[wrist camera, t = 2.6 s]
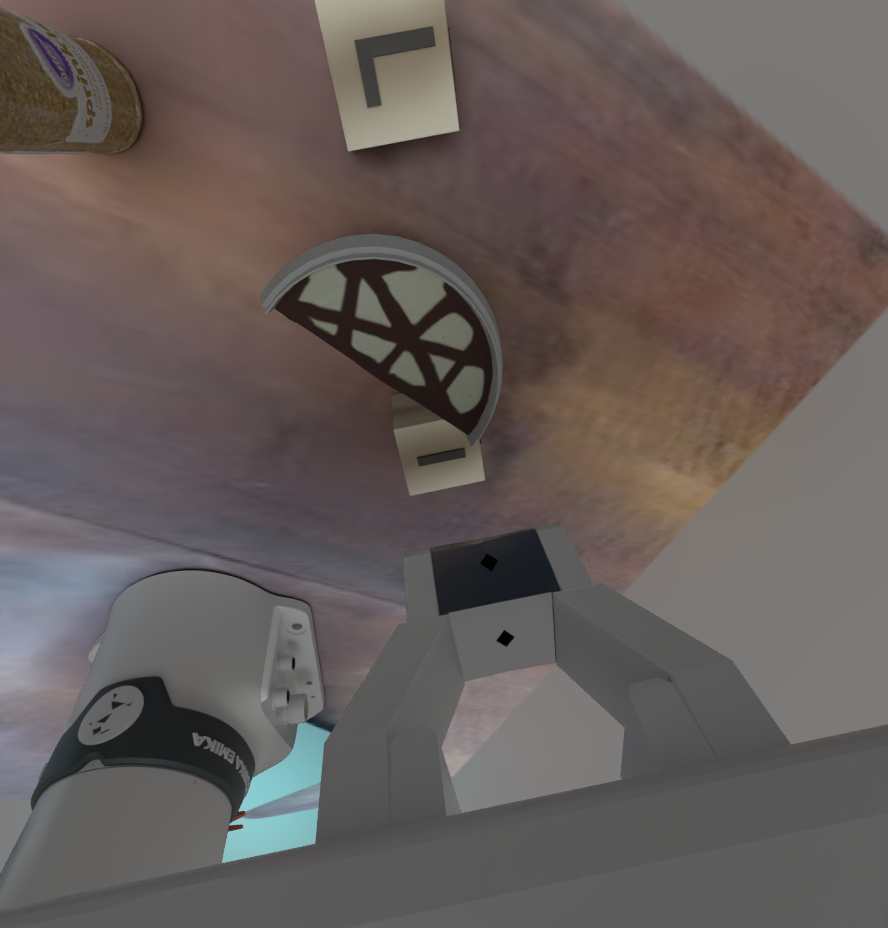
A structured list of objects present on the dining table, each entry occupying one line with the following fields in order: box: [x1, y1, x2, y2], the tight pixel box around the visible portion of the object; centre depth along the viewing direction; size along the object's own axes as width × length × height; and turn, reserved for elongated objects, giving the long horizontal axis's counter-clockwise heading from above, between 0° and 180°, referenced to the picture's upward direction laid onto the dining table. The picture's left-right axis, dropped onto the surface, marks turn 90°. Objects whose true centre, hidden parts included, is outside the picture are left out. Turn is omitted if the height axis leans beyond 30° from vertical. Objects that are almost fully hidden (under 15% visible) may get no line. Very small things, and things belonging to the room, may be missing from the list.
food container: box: [261, 234, 503, 448], centre depth 26 cm, size 12×6×10 cm, turn 52°
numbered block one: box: [391, 393, 485, 496], centre depth 33 cm, size 5×5×5 cm
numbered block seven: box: [315, 0, 459, 151], centre depth 23 cm, size 5×5×5 cm
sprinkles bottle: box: [0, 7, 142, 155], centre depth 18 cm, size 5×5×13 cm
